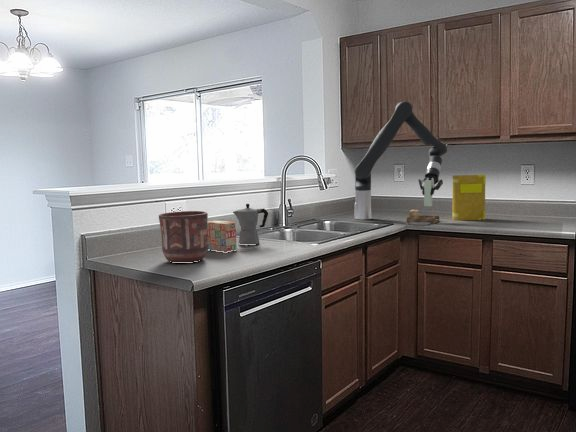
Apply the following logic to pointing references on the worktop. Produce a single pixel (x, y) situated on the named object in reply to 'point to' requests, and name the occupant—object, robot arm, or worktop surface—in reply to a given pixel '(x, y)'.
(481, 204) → the book
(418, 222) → the mat
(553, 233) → the worktop surface
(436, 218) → the rack
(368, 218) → the robot arm
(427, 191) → the slat
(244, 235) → the coffeepot
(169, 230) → the pottery
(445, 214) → the worktop surface
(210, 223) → the stack of blocks
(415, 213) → the offcut top
